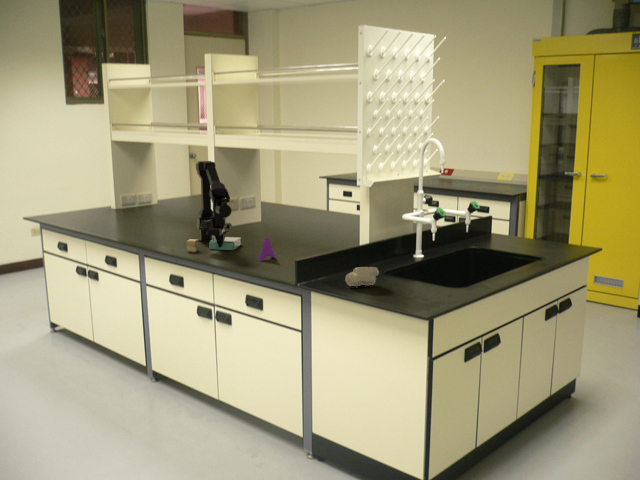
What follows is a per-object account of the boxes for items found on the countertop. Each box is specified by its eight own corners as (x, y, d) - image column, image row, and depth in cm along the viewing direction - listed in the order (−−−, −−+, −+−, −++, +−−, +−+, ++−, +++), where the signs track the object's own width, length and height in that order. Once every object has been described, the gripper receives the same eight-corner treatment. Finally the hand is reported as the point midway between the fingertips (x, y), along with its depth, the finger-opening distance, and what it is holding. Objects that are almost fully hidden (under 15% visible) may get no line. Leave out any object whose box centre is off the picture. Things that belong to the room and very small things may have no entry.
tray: (216, 244, 294) (216, 238, 293) (239, 245, 292) (239, 239, 292) (209, 249, 284) (209, 242, 284) (232, 250, 283) (232, 243, 282)
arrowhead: (265, 268, 266) (276, 250, 270) (268, 269, 265) (279, 251, 269) (254, 256, 259) (265, 237, 263) (256, 256, 258) (268, 237, 262)
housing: (217, 243, 296) (216, 236, 295) (240, 244, 294) (240, 237, 293) (210, 248, 286) (210, 240, 286) (234, 249, 284) (234, 241, 284)
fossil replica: (340, 286, 225) (357, 294, 217) (340, 265, 222) (357, 273, 215) (365, 278, 232) (382, 286, 224) (365, 258, 229) (383, 265, 221)
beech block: (190, 249, 283) (189, 239, 282) (198, 249, 282) (198, 239, 281) (187, 251, 279) (186, 240, 278) (195, 251, 278) (194, 241, 277)
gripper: (209, 210, 289) (210, 242, 292) (195, 216, 271) (196, 250, 274) (231, 211, 287) (232, 243, 291) (218, 217, 269) (219, 251, 273)
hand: (219, 247), depth 282 cm, fingers closed
